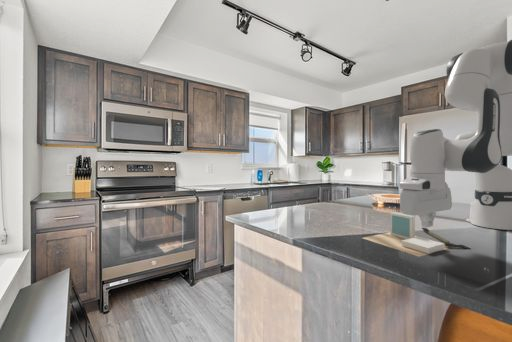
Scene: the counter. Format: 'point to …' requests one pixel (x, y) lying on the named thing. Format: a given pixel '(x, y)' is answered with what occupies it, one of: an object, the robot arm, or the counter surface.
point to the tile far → (402, 225)
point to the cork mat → (397, 243)
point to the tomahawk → (444, 239)
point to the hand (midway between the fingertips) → (427, 226)
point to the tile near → (423, 245)
